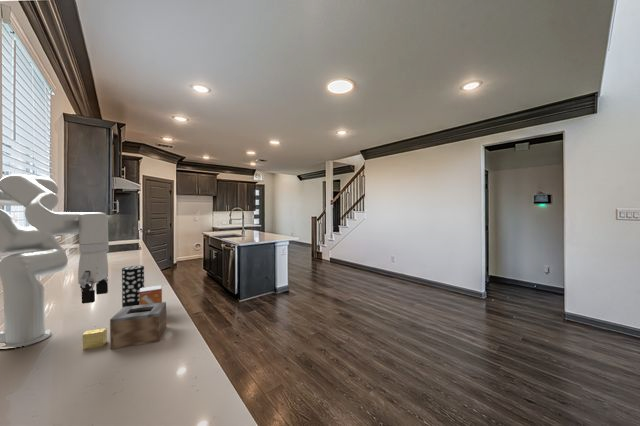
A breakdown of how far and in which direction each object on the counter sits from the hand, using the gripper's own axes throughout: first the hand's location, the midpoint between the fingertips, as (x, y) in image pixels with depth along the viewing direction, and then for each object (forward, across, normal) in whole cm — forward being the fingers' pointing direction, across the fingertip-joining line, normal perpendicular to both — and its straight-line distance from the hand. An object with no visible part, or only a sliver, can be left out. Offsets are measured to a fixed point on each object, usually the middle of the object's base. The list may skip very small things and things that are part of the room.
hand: (95, 298), depth 87 cm
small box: (+17, -19, +11) cm, 28 cm away
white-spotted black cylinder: (+16, -32, +1) cm, 36 cm away
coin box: (+17, -1, +12) cm, 21 cm away
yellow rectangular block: (+16, 0, -1) cm, 17 cm away
